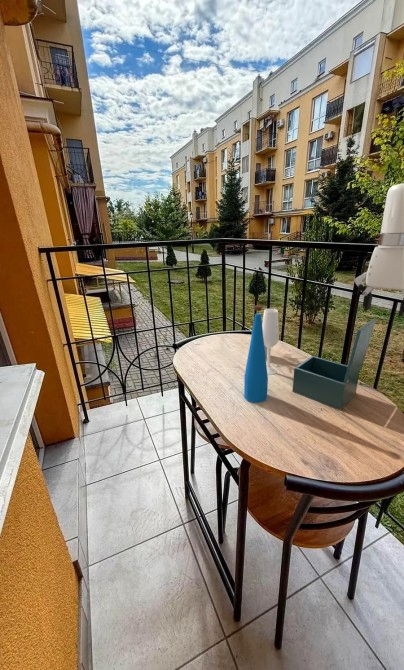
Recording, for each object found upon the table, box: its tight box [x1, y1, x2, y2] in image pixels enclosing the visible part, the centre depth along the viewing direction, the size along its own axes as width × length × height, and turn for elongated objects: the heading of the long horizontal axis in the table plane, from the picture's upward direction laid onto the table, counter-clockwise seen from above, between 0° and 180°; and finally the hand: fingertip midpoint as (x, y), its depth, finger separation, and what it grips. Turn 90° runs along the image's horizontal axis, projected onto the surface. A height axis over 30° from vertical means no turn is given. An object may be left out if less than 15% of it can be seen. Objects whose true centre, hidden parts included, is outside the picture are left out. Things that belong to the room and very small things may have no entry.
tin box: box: [291, 355, 361, 411], centre depth 91 cm, size 16×13×9 cm
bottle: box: [243, 304, 269, 404], centre depth 86 cm, size 7×7×30 cm
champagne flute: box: [262, 308, 280, 376], centre depth 104 cm, size 7×7×24 cm
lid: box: [344, 318, 377, 384], centre depth 80 cm, size 16×13×1 cm
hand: (383, 311), depth 73 cm, fingers open, 7 cm apart
